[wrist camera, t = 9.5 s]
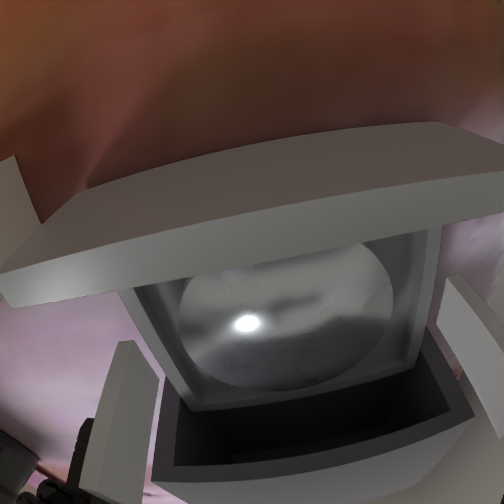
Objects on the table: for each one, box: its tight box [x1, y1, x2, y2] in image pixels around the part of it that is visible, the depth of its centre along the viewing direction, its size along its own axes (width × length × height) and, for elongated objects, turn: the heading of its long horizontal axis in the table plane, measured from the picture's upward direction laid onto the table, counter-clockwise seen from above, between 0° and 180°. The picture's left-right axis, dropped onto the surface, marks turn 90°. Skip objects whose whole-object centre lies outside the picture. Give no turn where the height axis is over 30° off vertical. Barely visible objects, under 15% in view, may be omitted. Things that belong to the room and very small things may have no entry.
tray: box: [0, 121, 504, 412], centre depth 12 cm, size 17×14×7 cm
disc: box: [178, 242, 393, 392], centre depth 13 cm, size 9×9×2 cm
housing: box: [151, 327, 475, 504], centre depth 19 cm, size 17×14×8 cm
